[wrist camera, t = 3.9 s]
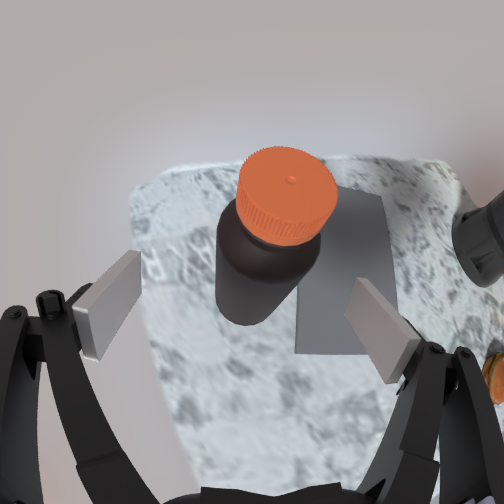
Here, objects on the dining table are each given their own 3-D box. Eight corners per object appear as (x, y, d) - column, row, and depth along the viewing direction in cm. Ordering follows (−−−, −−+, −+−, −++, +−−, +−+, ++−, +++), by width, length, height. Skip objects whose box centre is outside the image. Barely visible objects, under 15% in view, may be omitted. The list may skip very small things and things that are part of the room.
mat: (378, 199, 40) (381, 196, 39) (396, 353, 29) (399, 352, 29) (297, 181, 39) (298, 178, 38) (294, 353, 28) (296, 353, 28)
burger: (486, 415, 25) (505, 413, 21) (472, 382, 28) (493, 379, 24) (505, 377, 29) (523, 373, 25) (493, 344, 32) (511, 338, 27)
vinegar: (265, 263, 32) (322, 132, 15) (282, 317, 30) (377, 229, 12) (209, 275, 31) (206, 140, 13) (223, 333, 28) (240, 259, 10)
